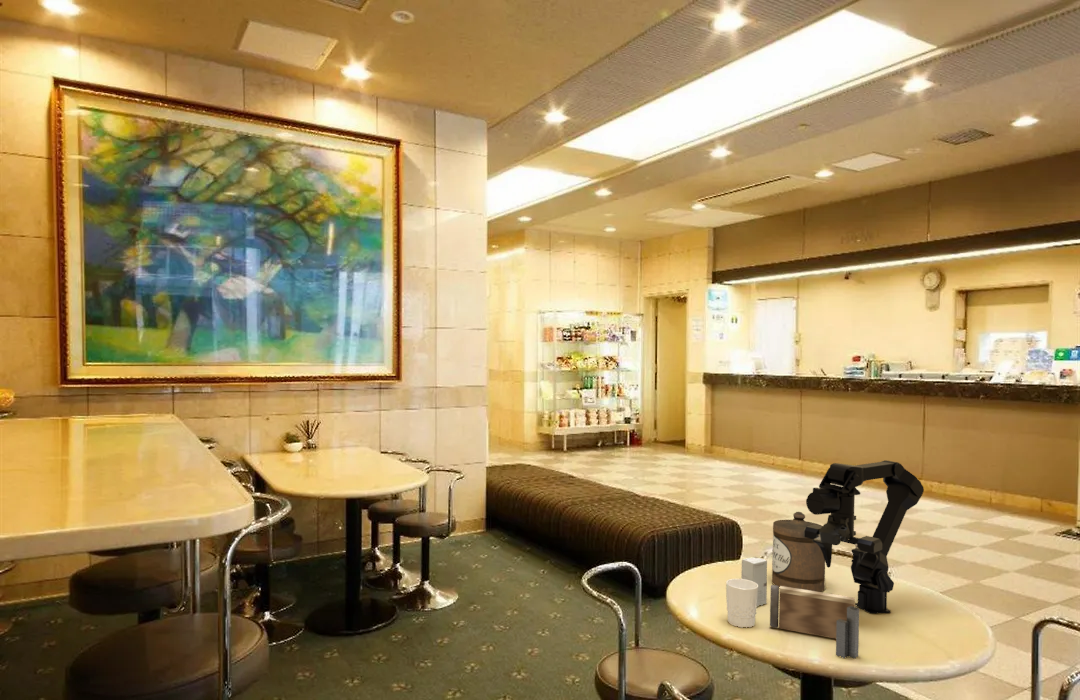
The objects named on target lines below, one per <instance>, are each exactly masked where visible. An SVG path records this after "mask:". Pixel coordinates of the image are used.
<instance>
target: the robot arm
mask: <svg viewBox="0 0 1080 700" xmlns="http://www.w3.org/2000/svg"><path fill="white" fill-rule="evenodd" d="M879 479H882V482H883V483H884V484H885V486H886V490H885V491H886V492H885V493H886V497H887V498H886V499H887V503H886V506H885V508H884V510H883V512H882V515H881V517H880V519H879V522H878V524H877V526H876V528H875V530H874V531H873V535H872V536H869V535H865V536H863V537H862V536H861V537H856V535H857V531H855V521H856V520H857V515H855V496H858V495H859V496H860V495H861V492H860V490H859V489H857V487H859V486H861V485H863V483H864V482H866V481H872V480H879ZM924 488H925V487H924V485H923V484H922V482H921V481H920V479H919V478H918V477H916V475H914V474H913V473H911V472H910V471H909V470H907V469H906V468H905V467H904V466H903V465H902V463H900V462H897V461H891V460H881V461H878V462H870V463H869V462H868V463H863V464H857V465H852V464H846V463H839V462H838V463H836V462H834V463H831V464H830V465H829V467H828V469H827V470H826V472H825V474H824V476H823V478H822V479H821V482H820V483H819V485H818V487H812V492H810V493H809V494H808V495H807V497H806V499H805V501H806V507H807V509H808V511H809V512H810V513H811V514H812V515H817V516H818V515H826V514H828V517H827V521H826V523H824V524H823V525H822V526H819V525H820V524H819V525H815V524H814V525H810V526H807V527H806V528H805V529H804V537H806V538H810V539H814V540H813V542H815V543H817V545H818V546H819V547H820V549H821V551H822V553H823V556H824V559H825V566H826V567H827V568H831V565H832V559H833V558H832V554H833V546H838V545H840V544H841V542H842V543H847V544H851V545H855V548H852V549H850V550H851V554H852V559H851V560H850V561H851V565H850V570H851V574H852V575H851V576H852V579H853V583H854V584H858V588H859V590H858V591H857V602H855V607H857V608H859V609H861V610H863V611H865V612H866V613H868V614H889V613H891V612H892V611H891V609H888V608H887V606H888V605H887V604H888V601H887V599H888V593H890V592H892V591H893V589H894V585H895V583H894V581H893V579H892V578H891V577H890V576H889V574H888V571H889V569H890V568H889V563H888V557H887V556H888V554H889V552H890V549H891V547H892V545H893V543H894V540H895V538H896V536H897V533H898V531H899V529H900V527H901V525H902V522H903V520H904V518H905V516H906V513H907V512H908V511H909V510H910V509H912V508H913V507H915V506H916V505H917V504H918V503H919V501H920V499H921V498H922V496H923V494H924V492H925V491H924V490H925V489H924Z"/></svg>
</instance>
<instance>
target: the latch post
mask: <svg viewBox="0 0 1080 700" xmlns="http://www.w3.org/2000/svg"><path fill="white" fill-rule="evenodd" d="M859 632H860V608H859V607H857V606H855V607H853V606H849V607H847V621H845V620H842V619H838V620H837V625H836V638H835V656H836V655H837V656H836V657H839V656H841V657H840V658H842V657H843V659H846V658H847V656H848V657H849V656H850V657H849V658H851V657H853V658H852V659H854V658H855V659H857V658H858V657H859V644H860V643H859V642H860V641H859V640H860V636H859V635H860V633H859ZM845 657H846V658H845ZM856 657H857V658H856Z"/></svg>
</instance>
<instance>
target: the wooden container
mask: <svg viewBox="0 0 1080 700" xmlns="http://www.w3.org/2000/svg"><path fill="white" fill-rule="evenodd" d="M792 515H793V516H792V517H793V519H777V520H774V521H773V524H772V556H771V557H772V558H771V569H772V570H771V578H772V579H771V582H773V583H774V584H775V585H777V586H779V587H780V586H784V587H791V588H797V589H803V590H810V591H816V592H822V593H823V592H824V591H825V588H826V586H825V584H826V578H825V577H826V562H825V559H824V556H823V553H822V551H821V549H820V547H819V546H818V545H817V543H815V542H813V540H814V539H810V538H806V537H804V529H805V528H806V527H807V526H810V525H814V524H815V525H819V526H823V525H821V524H819V523H815V522H812V521H806V520H805V518H806V515H805V514H804V513H803V512H801V511H796V512H794V513H793V514H792ZM773 583H772V584H773ZM774 584H773V585H774Z"/></svg>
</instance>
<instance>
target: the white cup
mask: <svg viewBox="0 0 1080 700" xmlns="http://www.w3.org/2000/svg"><path fill="white" fill-rule="evenodd" d="M725 586H726V587H725V589H726V598H725V599H726V611H727V612H726V613H727V622H728V623H729V624H730V625H732V626H733V627H734V626H735V627H737V626H738V628H743V627H746V628H747V627H749V628H752V626H753V627H754V626H755V625H756V615H757V607H758V606H757V596H758V584H756V583H755V582H753V581H750V580H746V579H741V578H730V579H727V580H726V582H725ZM746 628H745V629H746Z"/></svg>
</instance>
